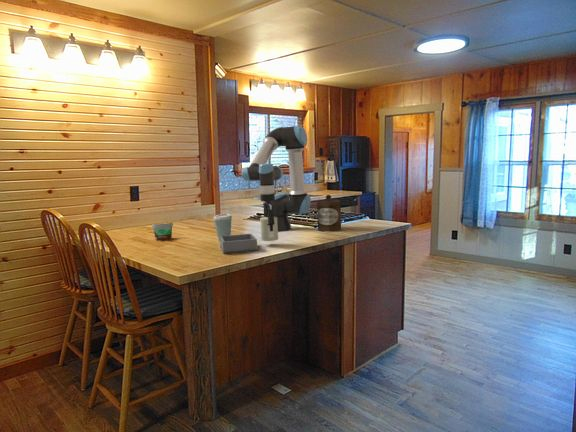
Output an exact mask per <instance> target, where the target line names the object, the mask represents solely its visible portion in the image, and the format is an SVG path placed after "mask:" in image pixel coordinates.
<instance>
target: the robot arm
mask: <svg viewBox="0 0 576 432" xmlns="http://www.w3.org/2000/svg"><path fill="white" fill-rule="evenodd" d="M307 134H308V133H307V131H306V129H305V127H303V126H300V125H297V126H296V125H295V126H281V127H280V126H279V127H276V128H274V129H273V130H271V131H270V132H268V134H267V135H265V137H264V139H263V141H262V145H261V146H260V149H259V150H258V152H257V153H256V155H255V156H254V158H253V160H252V162H251V163H250V165H249V166H247V167H242V169H241V178H242V179H243V180H244V181H245V182H255V181H256V182H257V181H258V182H259V187H258V190H260V192H259V193H260V195H259V196H260V202H263V203H262V205H263V217H268V223H269V224H267V225H268V232H269V238H270V237H274V217H277V227H278V232H284V231H289V230H291V229H292V225H291V222H290V218H289V214H296V215H297V214H298V215H301V214H308V212H309V210H310V208H311V203H312V202H311V201H312V198H311V196H310V195H309V194H308V191H307V190H306V189H305V176H304V175H305V174H304V161H303V159H304V158H303V150H305V146H307V144H308V135H307ZM279 147H284V148H285V151H287V153H288V168H289V183H290V185H289V186H290V191H289V192H282V193H277V194H275V190H276V189H275V181H278V180H280V179H282V178H283V175H284V171H283V169H282V168H281V167H280V166H276V165H274V164H273V163H268V162H269V160H270V158H271V157H272V155H273V153H274V151H276V150H277V149H278V148H279Z"/></svg>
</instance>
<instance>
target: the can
mask: <svg viewBox="0 0 576 432" xmlns="http://www.w3.org/2000/svg"><path fill="white" fill-rule="evenodd" d="M259 220H260V235H261V237H260V239H261V241H263V242H272V241H273V242H274V241H277V240H279V231H278V227H277V217H274V237H270V238H269V232H268V225H267V224H269V223H268V217H264V216H262V217H260V218H259Z"/></svg>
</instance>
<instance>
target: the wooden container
mask: <svg viewBox="0 0 576 432" xmlns="http://www.w3.org/2000/svg"><path fill="white" fill-rule="evenodd" d="M316 207H317V210H316V211H317V214H316V215H317V217H316V218H317V220H316V221H317V223H316V224H317V230H318V231H320V232H325V231H329V232H330V231H331V232H337V231H341V230H342V212H341V211H342V210H341V200H339V199H338V200H337V199H332V195H330V194H327V195H326V196H325V199H323V200H318V201H316Z"/></svg>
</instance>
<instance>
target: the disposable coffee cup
mask: <svg viewBox="0 0 576 432" xmlns="http://www.w3.org/2000/svg"><path fill="white" fill-rule="evenodd" d="M232 218H233V217H232V214H230V213H220V214H216V215H214V217H213V219H212V220H213V222H214V227H215V231H216V235H217V238H218V241H219V242H220V236H228V235H232Z"/></svg>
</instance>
